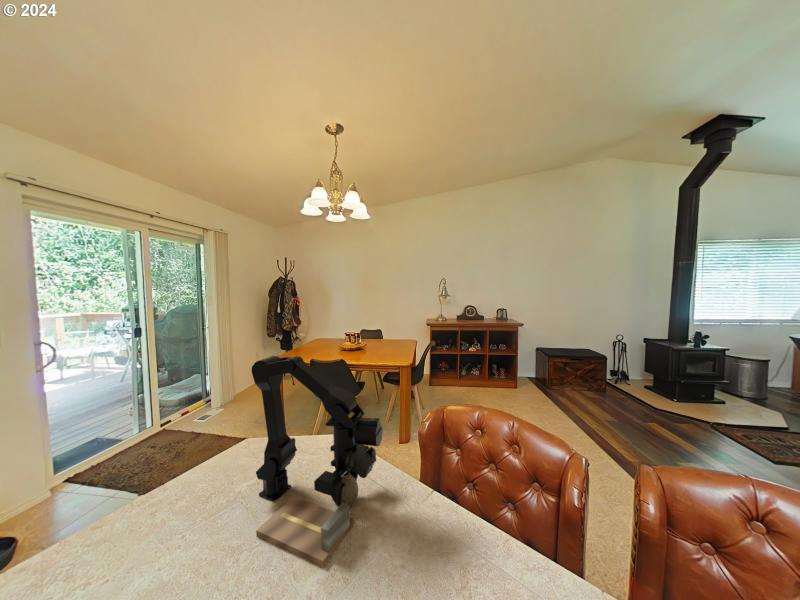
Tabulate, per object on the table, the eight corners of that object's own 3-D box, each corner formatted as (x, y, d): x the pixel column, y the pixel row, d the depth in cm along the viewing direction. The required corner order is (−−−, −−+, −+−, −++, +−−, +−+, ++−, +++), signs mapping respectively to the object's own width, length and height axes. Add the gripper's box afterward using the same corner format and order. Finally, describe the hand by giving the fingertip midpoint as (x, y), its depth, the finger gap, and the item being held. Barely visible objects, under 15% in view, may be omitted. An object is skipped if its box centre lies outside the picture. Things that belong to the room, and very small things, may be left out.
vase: (353, 515, 74) (352, 482, 74) (328, 511, 75) (327, 479, 75) (362, 496, 81) (361, 466, 80) (339, 493, 82) (338, 463, 82)
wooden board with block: (256, 536, 68) (255, 510, 68) (293, 501, 79) (292, 479, 79) (323, 567, 60) (322, 538, 60) (354, 524, 71) (353, 499, 71)
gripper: (349, 467, 66) (351, 533, 66) (385, 430, 83) (387, 482, 83) (311, 457, 70) (313, 518, 71) (353, 424, 87) (354, 473, 88)
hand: (345, 496), depth 78 cm, fingers closed on vase, 6 cm apart
